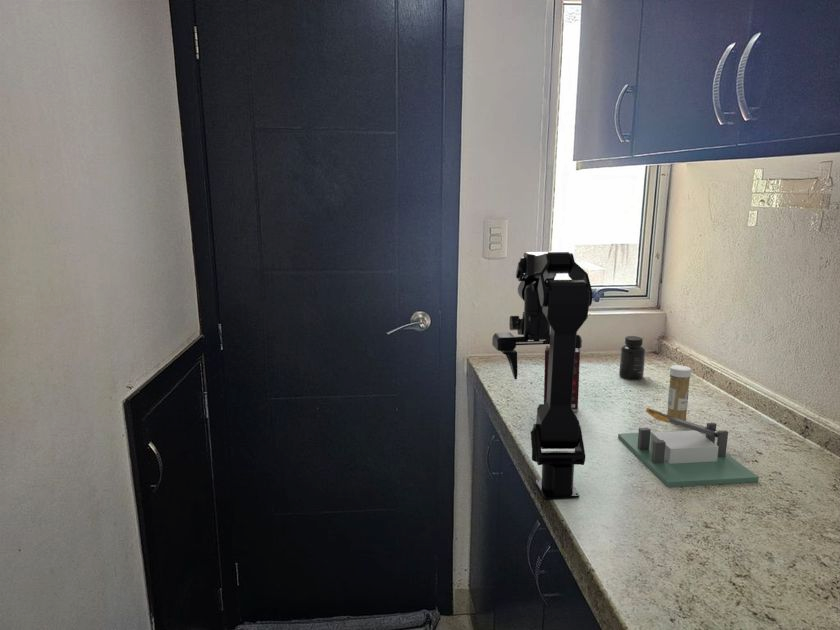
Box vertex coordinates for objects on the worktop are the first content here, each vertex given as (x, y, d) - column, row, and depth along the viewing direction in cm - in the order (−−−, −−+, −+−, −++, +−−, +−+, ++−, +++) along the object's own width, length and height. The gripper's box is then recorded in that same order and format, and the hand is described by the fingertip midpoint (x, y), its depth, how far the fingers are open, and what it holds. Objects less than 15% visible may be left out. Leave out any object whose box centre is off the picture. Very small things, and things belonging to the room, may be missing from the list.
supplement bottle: (614, 375, 172) (616, 336, 170) (631, 371, 175) (633, 333, 173) (631, 381, 166) (633, 341, 164) (648, 378, 169) (651, 339, 167)
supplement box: (577, 406, 148) (580, 347, 145) (577, 413, 144) (580, 352, 140) (543, 403, 150) (545, 344, 147) (542, 410, 146) (544, 349, 142)
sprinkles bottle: (686, 425, 135) (691, 371, 133) (665, 422, 137) (670, 368, 134) (686, 418, 140) (691, 365, 137) (665, 415, 141) (670, 363, 138)
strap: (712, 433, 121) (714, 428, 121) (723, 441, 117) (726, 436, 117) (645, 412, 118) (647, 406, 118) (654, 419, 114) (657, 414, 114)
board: (758, 481, 109) (762, 450, 108) (667, 487, 108) (670, 455, 106) (694, 434, 131) (697, 407, 129) (618, 437, 129) (619, 410, 128)
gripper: (565, 301, 134) (563, 366, 137) (487, 304, 132) (486, 369, 135) (584, 310, 123) (581, 380, 126) (498, 313, 121) (497, 384, 124)
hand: (535, 378), depth 128 cm, fingers open, 9 cm apart
